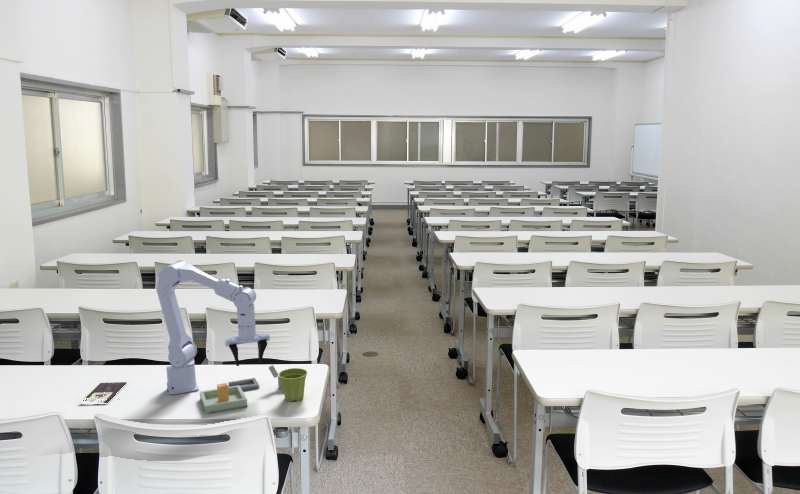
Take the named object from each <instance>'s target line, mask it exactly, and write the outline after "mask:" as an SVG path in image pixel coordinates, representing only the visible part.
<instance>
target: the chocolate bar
mask: <svg viewBox="0 0 800 494" xmlns="http://www.w3.org/2000/svg"><path fill="white" fill-rule="evenodd" d="M126 383H127V381H124V382H123V381H120V382H119V381H117V382H100V383H98V385H97V386H96V387H94V389H93V390H92V391H91V392H90V393H89V394H87V395H86V396H85V398H89V399H88V400H87V399H86V400H85V401H90V402H93V401H95V400H96V399H103V398H105V399H104V400H103V401H102V400H101V401H100V402H99V400H98V402H97V403H108V402H109V401H110V400H111V399H112V398H113V397H114V396H115V395H116V393H117V392H118V391H119V390H120V389H121V388H122V387H123V386H124V385H125V384H126ZM127 384H128V383H127ZM127 384H126V385H127ZM126 385H125V386H126ZM125 386H124V387H125ZM124 387H123V388H124ZM123 388H122V389H123ZM122 389H121V390H122ZM121 390H120V391H121ZM120 391H119V392H120ZM104 392H105V393H104ZM119 392H118V393H119ZM98 393H99V394H98ZM118 393H117V394H118ZM92 394H93V395H92ZM103 395H104V396H103ZM97 396H98V397H97ZM94 397H95V398H94ZM115 397H116V396H115ZM115 397H114V398H115ZM90 398H91V399H90ZM114 398H113V399H114ZM106 399H107V400H106ZM113 399H112V400H113ZM82 400H83V399H82ZM112 400H111V401H112ZM83 401H84V400H83ZM111 401H110V402H111ZM110 402H109V403H110ZM109 403H108V404H109Z"/></svg>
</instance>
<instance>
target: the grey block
mask: <svg viewBox="0 0 800 494" xmlns="http://www.w3.org/2000/svg"><path fill="white" fill-rule="evenodd" d="M268 370H269V371H270V373H271V375H272V376H273V378H274V379H275V378H277V388H278V389H283V386H282V382H281V380H280V377H279V375H278V374H279V372H277V370H276V368H275V366H274V364H272V365H269V366H268Z"/></svg>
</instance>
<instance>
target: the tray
mask: <svg viewBox="0 0 800 494" xmlns="http://www.w3.org/2000/svg"><path fill="white" fill-rule="evenodd" d="M240 386H241V385H236V386H230V387H229V386H228V395H229V401H227V402H221V403H219V401H218V392H217V388H213V389H207V390H202V391H199V397H200V398H199V399H200V402H201V406H202V407H203V410H204V413H205V415H209V414H214V413H221V412H227V411H231V410H237V409H243V408H247V407H248V398H247V397H246V395H245V393H244V391H242V389H241V387H240Z"/></svg>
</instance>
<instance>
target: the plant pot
mask: <svg viewBox="0 0 800 494" xmlns="http://www.w3.org/2000/svg"><path fill="white" fill-rule="evenodd" d="M278 375H279V377H280V380H281V382H282V386H283V388H282V390H283V395H284V399H285V400H286V401H288V402H294V401H296V402H298V401H302V400H303V398H304V397H305V386H306V385H305V384H306V378H307V376H308V371H307V369H305V368H301V367H299V368H298V367H293V368H286V369H283V370H281V371H280V372H278Z"/></svg>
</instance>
